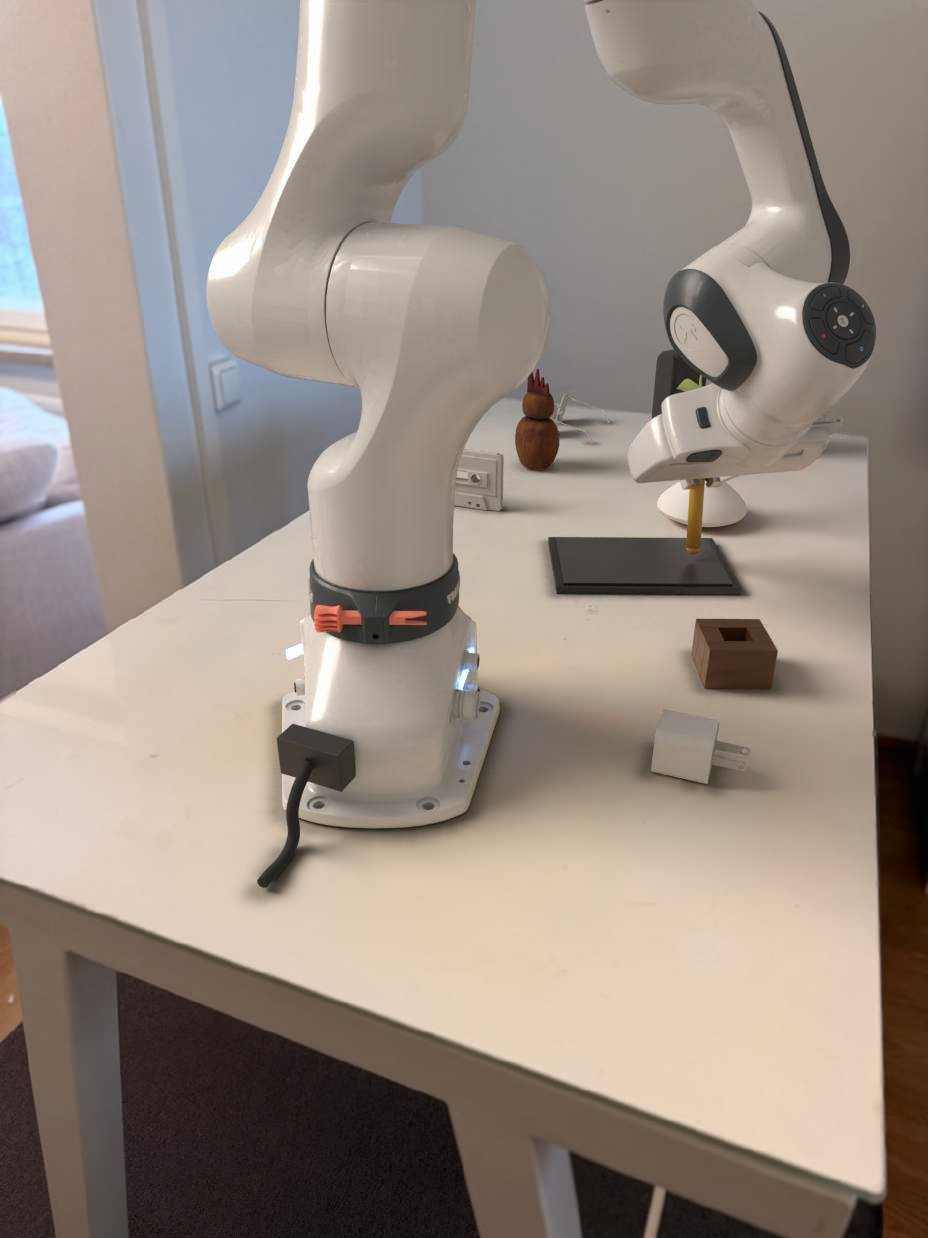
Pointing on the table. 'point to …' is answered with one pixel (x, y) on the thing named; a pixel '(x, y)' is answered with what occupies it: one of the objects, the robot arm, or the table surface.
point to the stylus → (695, 518)
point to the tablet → (639, 566)
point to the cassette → (480, 480)
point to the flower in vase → (718, 501)
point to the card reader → (671, 378)
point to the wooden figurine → (537, 427)
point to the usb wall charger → (690, 747)
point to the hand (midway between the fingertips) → (698, 482)
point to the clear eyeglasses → (562, 410)
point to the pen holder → (733, 653)
